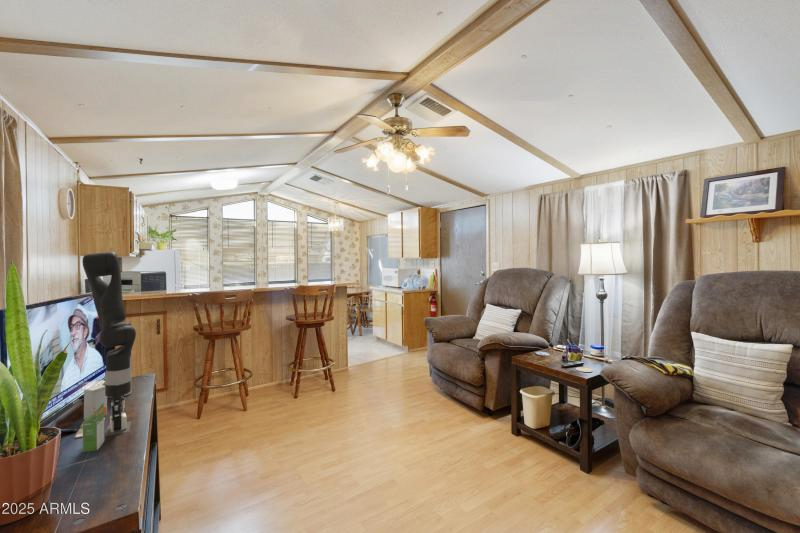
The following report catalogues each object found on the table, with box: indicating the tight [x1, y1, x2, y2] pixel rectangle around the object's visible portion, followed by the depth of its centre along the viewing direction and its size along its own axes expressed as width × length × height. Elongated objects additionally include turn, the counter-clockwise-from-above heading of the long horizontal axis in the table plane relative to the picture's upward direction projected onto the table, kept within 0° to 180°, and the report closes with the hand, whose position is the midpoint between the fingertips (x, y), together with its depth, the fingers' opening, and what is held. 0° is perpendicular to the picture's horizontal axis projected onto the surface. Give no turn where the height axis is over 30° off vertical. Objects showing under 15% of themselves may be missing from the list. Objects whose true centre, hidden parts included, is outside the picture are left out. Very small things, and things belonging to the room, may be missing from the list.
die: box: [109, 412, 128, 432], centre depth 135 cm, size 4×4×5 cm
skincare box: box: [83, 384, 108, 421], centre depth 145 cm, size 6×4×12 cm
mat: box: [104, 420, 132, 437], centre depth 135 cm, size 10×7×1 cm
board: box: [73, 417, 107, 440], centre depth 135 cm, size 15×7×1 cm, turn 33°
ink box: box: [82, 403, 105, 453], centre depth 122 cm, size 7×4×13 cm, turn 23°
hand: (118, 427), depth 135 cm, fingers closed on die, 5 cm apart
